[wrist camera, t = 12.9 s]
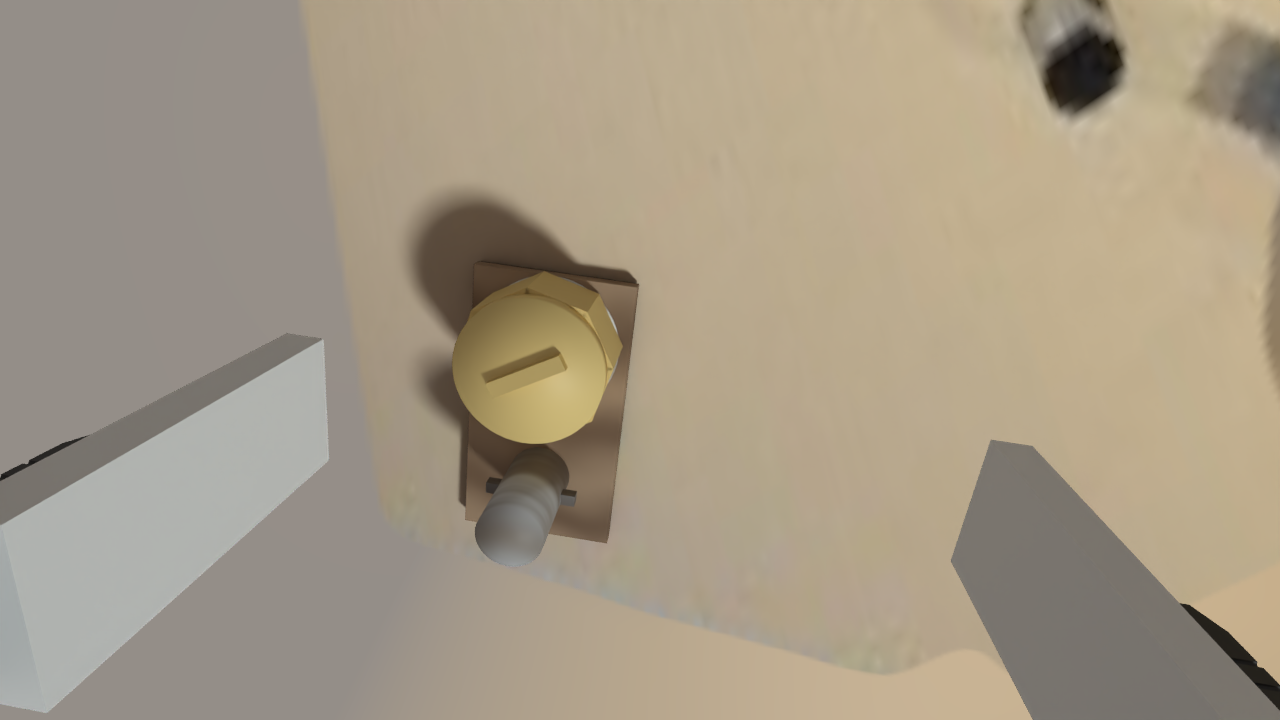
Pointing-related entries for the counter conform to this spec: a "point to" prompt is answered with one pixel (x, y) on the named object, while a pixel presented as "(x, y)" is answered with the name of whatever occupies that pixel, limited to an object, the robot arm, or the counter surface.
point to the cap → (536, 359)
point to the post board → (549, 450)
